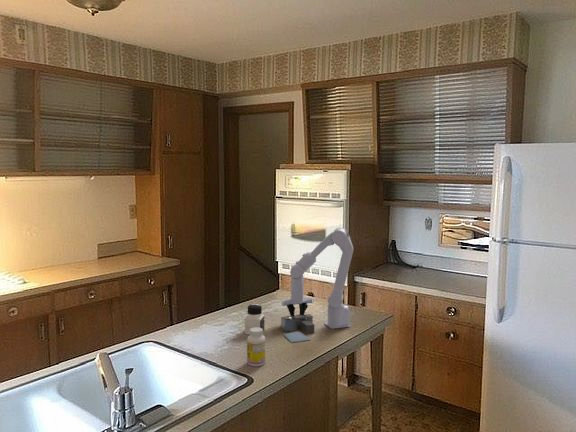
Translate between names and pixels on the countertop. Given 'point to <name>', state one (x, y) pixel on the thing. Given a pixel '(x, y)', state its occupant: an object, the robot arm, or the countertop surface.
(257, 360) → the supplement bottle
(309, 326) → the plug
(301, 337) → the mat
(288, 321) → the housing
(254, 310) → the medicine bottle
